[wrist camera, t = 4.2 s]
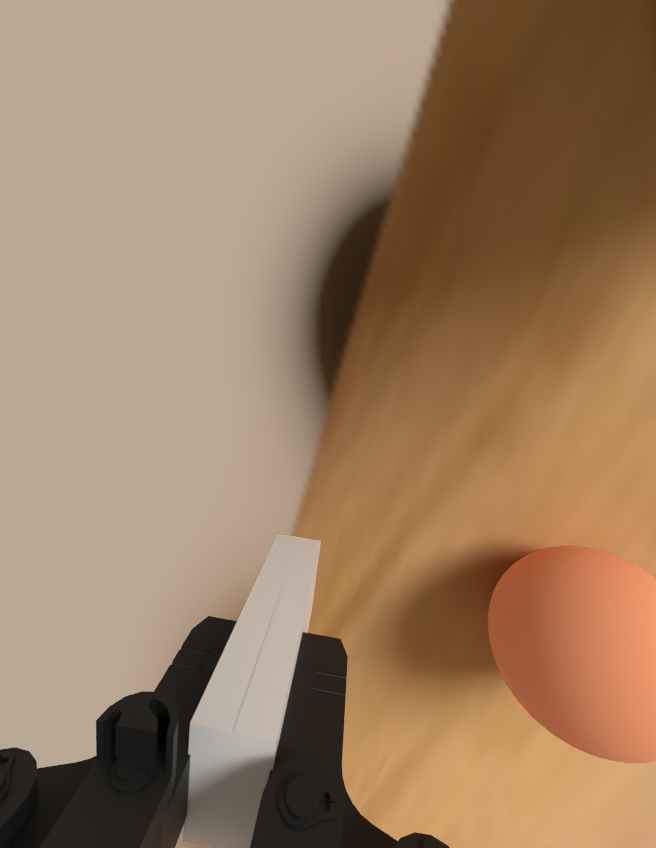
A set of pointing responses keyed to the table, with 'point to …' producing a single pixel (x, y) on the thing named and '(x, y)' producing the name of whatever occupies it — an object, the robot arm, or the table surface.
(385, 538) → the table surface
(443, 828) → the table surface
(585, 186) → the table surface
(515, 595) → the ball
